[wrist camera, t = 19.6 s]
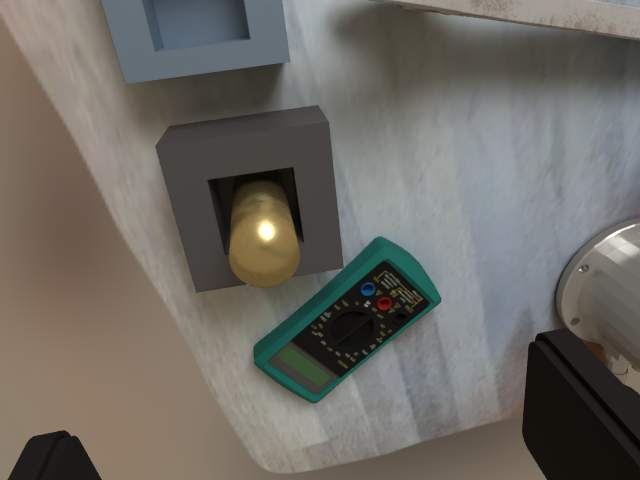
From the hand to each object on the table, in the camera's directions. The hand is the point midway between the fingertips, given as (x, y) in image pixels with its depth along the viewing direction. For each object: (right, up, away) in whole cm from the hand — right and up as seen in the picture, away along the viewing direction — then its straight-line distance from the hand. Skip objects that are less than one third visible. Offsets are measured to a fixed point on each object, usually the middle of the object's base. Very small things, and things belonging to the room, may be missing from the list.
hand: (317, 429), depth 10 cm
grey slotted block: (-4, +8, +24) cm, 25 cm away
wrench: (+15, +19, +21) cm, 32 cm away
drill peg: (-4, +7, +23) cm, 24 cm away
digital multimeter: (+2, -2, +31) cm, 31 cm away
